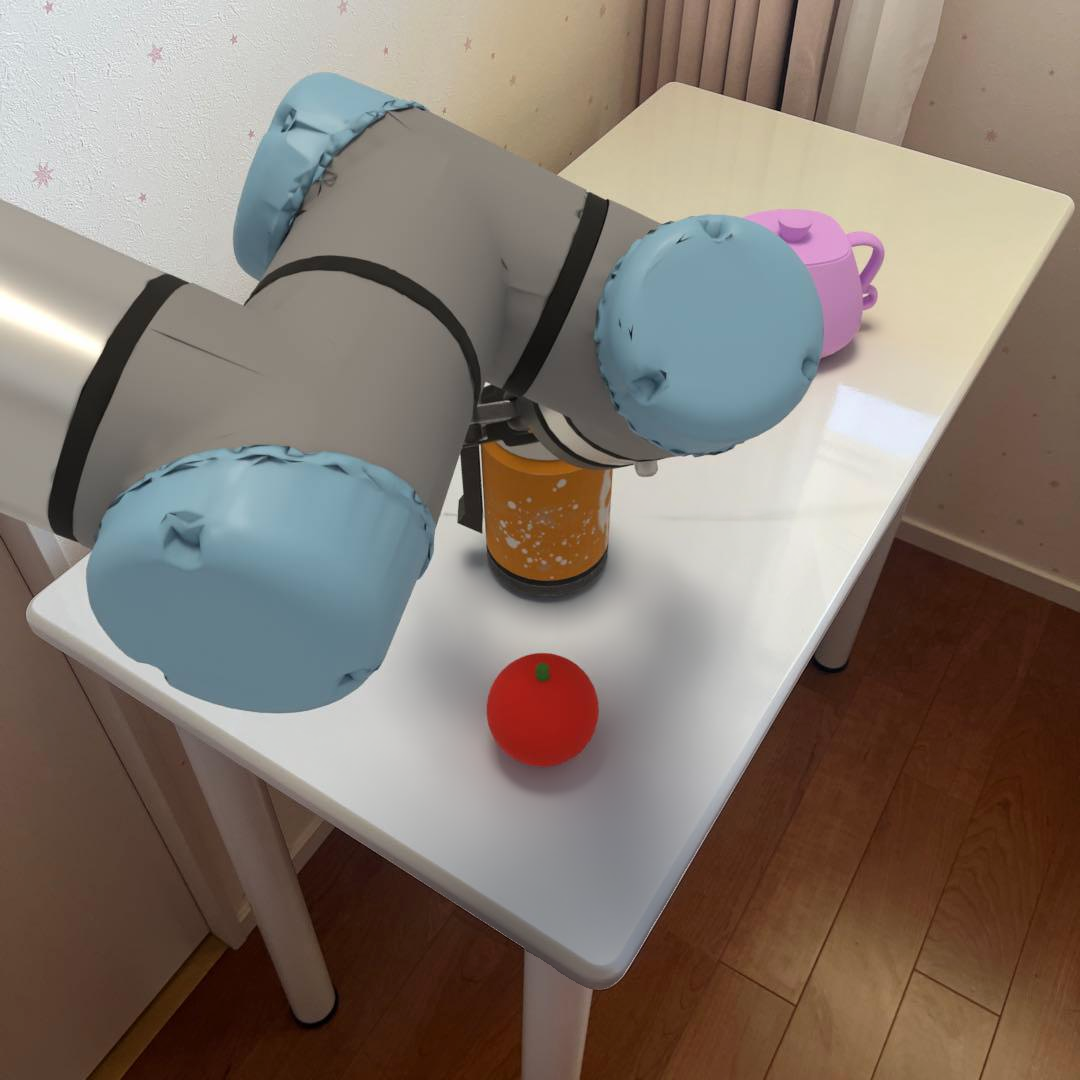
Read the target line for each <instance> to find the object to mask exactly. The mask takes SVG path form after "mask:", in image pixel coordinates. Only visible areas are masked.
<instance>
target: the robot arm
mask: <svg viewBox="0 0 1080 1080" xmlns="http://www.w3.org/2000/svg"><path fill="white" fill-rule="evenodd" d="M232 249H233V255H234V257H235V261H236V263H237V264H238V266H239V267H240V268H241V269H242V270H243V272H245V273H246V274H247V275H248V276H249V277H251V278H253V279H254V280H256V281H258V284H257V285H256V286H255V288H254V289H253V290H252V292H251V293H250V294H249V297H248V298H247V299H246V300H245V302H244V304H240V303H238V302H236V301H234V300H232V299H230V298H228V297H226V296H224V295H222V294H219V293H217V292H215V291H213V290H211V289H208V288H206V287H203V286H201V285H200V284H197V283H194V282H190V281H189V282H188V281H187V280H184V279H183V278H182V279H181V278H180V277H178V276H176V275H173V274H170V273H168V272H165V271H163V270H161V269H159V268H156V267H154V266H151V265H150V264H148V263H145V262H143V261H140V260H138V259H136V258H134V257H131V256H129V255H128V254H125V253H124V252H120V251H118V250H116V249H114V248H111V247H109V246H107V245H105V244H102V243H100V242H98V241H95V240H94V239H91V238H89V237H87V236H84V235H82V234H81V233H78V232H75V231H73V230H71V229H69V228H67V227H64V226H62V225H60V224H58V223H55V222H53V221H51V220H49V219H46V218H45V217H43V216H40V215H38V214H35V213H33V212H31V211H29V210H27V209H24V208H22V207H20V206H17V205H15V204H13V203H11V202H9V201H6V200H4V199H2V198H0V514H3V515H6V516H8V517H10V518H12V519H13V518H14V519H15V520H18V521H21V522H23V523H25V524H28V525H31V526H33V527H36V528H38V529H41V530H43V531H46V532H49V533H51V534H54V535H56V536H59V537H62V538H65V539H68V540H70V541H72V542H74V543H75V542H76V543H79V544H80V545H81V546H82V547H85V548H87V549H89V550H91V552H90V555H89V557H88V561H87V565H86V569H85V584H86V592H87V599H88V602H89V605H90V609H91V611H92V613H93V615H94V617H95V619H96V621H97V624H98V625H99V626H100V627H101V628H102V630H103V632H104V634H106V635H107V637H108V638H109V639H110V640H111V642H112V643H113V644H114V645H115V647H117V649H118V650H120V651H121V652H122V653H123V654H124V655H125V656H126V657H128V658H130V659H131V660H133V661H134V662H136V663H140V664H145V665H149V666H152V667H153V668H156V669H158V670H159V671H161V672H162V673H163V677H164V680H165V681H166V683H167V684H168V685H169V686H170V687H172V688H174V689H176V690H178V691H180V692H182V693H183V694H186V695H189V696H191V697H194V698H196V699H198V700H201V701H204V702H207V703H209V704H210V703H211V704H213V705H217V706H221V707H225V708H229V709H231V710H239V711H244V712H252V713H260V714H294V713H301V712H309V711H313V710H315V709H319V708H323V707H326V706H329V705H332V704H334V703H336V702H339V701H340V700H342V699H344V698H346V697H347V696H348V695H349V696H350V694H352V693H354V692H355V691H356V690H358V689H359V688H360V687H361V686H362V685H364V683H365V682H366V681H367V680H369V677H371V676H372V675H373V674H374V672H376V671H378V670H379V669H380V668H381V666H382V665H383V662H384V661H385V659H386V657H387V655H388V651H389V649H390V647H391V645H392V642H393V639H394V637H395V634H396V633H397V630H398V627H399V625H400V622H401V620H402V619H403V618H402V617H403V615H404V612H405V610H406V608H407V605H408V603H409V601H410V598H411V596H412V594H413V591H414V588H415V586H416V585H417V581H419V580H420V579H422V577H423V576H424V574H425V573H426V571H427V569H428V568H429V566H430V564H431V561H432V558H433V556H434V552H435V534H436V529H437V526H438V523H439V519H440V517H441V513H442V510H443V507H444V505H445V501H446V498H447V495H448V492H449V489H450V487H451V483H452V479H453V477H454V474H455V471H456V468H457V465H458V461H459V460H460V459H459V458H460V453H461V449H463V448H468V447H472V446H477V445H479V446H481V445H482V444H487V443H491V442H496V441H501V440H502V441H503V442H504V443H505V445H507V446H508V447H513V446H521V445H528V444H533V443H538V442H540V443H541V444H542V445H543V446H544V447H545V448H546V449H547V450H548V451H549V452H551V453H552V454H553V455H554V456H556V457H557V458H559V459H560V460H562V461H564V462H566V463H568V464H570V465H573V466H576V467H579V468H583V469H589V470H609V469H613V470H616V469H620V468H621V469H622V468H626V467H631V466H634V467H633V468H634V470H635V473H636V475H637V476H638V477H641V478H650V477H654V476H655V475H656V474H657V472H658V470H659V467H658V466H659V465H658V461H660V460H661V461H662V460H664V459H668V458H669V459H670V458H675V457H676V458H677V457H683V458H684V457H687V456H692V457H693V458H700V457H704V456H717V455H721V454H723V453H727V452H729V451H731V450H733V449H735V447H736V446H737V445H742V444H744V443H745V442H747V441H749V440H751V439H754V438H756V437H759V436H760V435H762V434H764V433H766V432H768V431H769V430H771V429H773V428H775V427H776V426H777V425H779V424H780V423H781V422H782V421H784V419H786V418H787V417H788V416H789V415H790V414H791V412H793V411H794V410H795V409H796V407H797V406H798V405H799V404H800V403H801V402H802V401H803V398H804V397H805V396H806V395H807V392H808V391H809V389H810V387H811V385H812V383H813V381H814V380H815V378H816V376H817V374H818V369H819V365H820V362H821V359H822V358H821V355H822V349H823V341H824V322H823V311H822V306H821V301H820V298H819V295H818V292H817V289H816V286H815V284H814V281H813V279H812V276H811V274H810V272H809V271H808V269H807V267H806V266H805V264H804V263H803V262H802V260H801V259H800V257H799V256H798V255H797V253H796V252H795V251H794V250H793V249H792V248H791V247H790V246H789V245H788V244H787V243H786V242H785V241H784V240H783V239H781V238H780V237H779V236H778V235H776V234H775V233H774V232H772V231H771V230H769V229H767V228H766V227H764V226H762V225H760V224H758V223H755V222H753V221H750V220H747V219H744V218H743V217H739V216H736V215H729V214H711V213H710V214H702V215H701V214H700V215H694V216H688V217H685V218H682V219H679V220H676V221H673V220H670V221H667V222H664V223H660V222H659V221H656V220H654V219H653V218H650V217H648V216H646V215H644V214H642V213H640V212H638V211H636V210H634V209H632V208H630V207H627V206H625V205H623V204H621V203H618V202H616V201H614V200H612V199H609V198H603V197H601V196H599V195H597V194H595V193H593V192H591V191H587V189H586V188H584V187H582V186H580V185H578V184H576V183H574V182H571V181H570V180H568V179H566V178H564V177H562V176H560V175H558V174H556V173H554V172H552V171H550V170H547V168H544V167H543V166H540V165H538V164H536V163H534V162H532V161H529V160H527V159H526V158H523V157H522V156H520V155H518V154H516V153H514V152H512V151H510V150H508V149H506V148H504V147H501V146H500V145H497V144H496V143H494V142H492V141H490V140H487V139H486V138H484V137H482V136H480V135H477V134H475V133H474V132H472V131H469V130H468V129H466V128H464V127H462V126H459V124H458V125H457V124H455V123H453V122H452V121H449V120H447V119H446V118H444V117H441V116H439V115H437V114H435V113H433V112H432V111H430V110H429V108H428V107H427V106H425V105H423V104H421V103H419V102H418V101H416V100H407V99H404V98H403V99H400V98H398V97H395V96H392V95H390V94H387V93H385V92H383V91H380V90H379V89H376V88H373V87H370V86H368V85H366V84H363V83H361V82H358V81H355V80H353V79H351V78H348V77H345V76H343V75H341V74H338V73H336V72H335V73H334V72H328V71H326V72H325V71H324V72H322V71H321V72H320V71H319V72H314V73H312V74H308V75H306V76H305V77H303V78H301V79H299V80H297V82H296V83H295V84H294V85H292V87H290V89H289V90H288V91H287V93H286V94H285V95H284V97H283V98H282V100H281V101H280V103H279V104H278V106H277V107H276V110H275V112H274V115H273V117H272V120H271V122H270V125H269V127H268V129H267V132H265V133H264V134H263V135H262V138H261V140H260V142H259V144H258V146H257V148H256V150H255V154H254V156H253V159H252V162H251V164H250V166H249V168H248V172H247V175H246V178H245V181H244V184H243V187H242V190H241V194H240V198H239V201H238V205H237V210H236V214H235V219H234V224H233V232H232ZM486 383H487V384H488V385H490V384H492V385H494V386H496V387H495V390H494V392H493V393H492V394H490V395H486V396H482V397H481V394H482V391H483V388H484V387H485V385H486ZM528 430H531V431H532V433H529V432H528Z"/></svg>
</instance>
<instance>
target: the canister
mask: <svg viewBox="0 0 1080 1080" xmlns="http://www.w3.org/2000/svg"><path fill="white" fill-rule="evenodd" d="M495 387H496V386H494V385H492V384H487V385H486V386H485V385H484V388H483V391H482V394H481V397H482V396H486V395H490V394H492V393H493V392H494V390H495ZM528 432H529V433H532V431H531V430H528ZM459 458H460V469H461V482H462V495H461V496H460V498H459V499H458V501H457V502H458V503H457V505H458V506H457V518H456V521H457V522H456V523H457V524H458V525H460V526H463V527H465V528H467V529H470V530H472V531H475V532H477V533H479V534H483V525H484V527H485V543H486V544H485V545H486V546H485V547H486V558H487V559H486V560H487V561H488V566H489V567H490V569H491V571H492V572H493V574H494V575H495V576H496V577H497V579H499V581H501V582H502V583H503V584H505V585H506V586H508V587H510V588H511V589H513V590H515V591H518V592H520V593H523V594H526V595H532V596H537V597H558V596H559V597H560V596H565V595H569V594H571V593H574V592H578V591H579V590H581V589H584V588H585V587H587V586H588V585H590V584H591V583H593V581H595V580H596V579H597V578H598V577H599V576H600V575H601V573H602V572H603V570H604V568H605V566H606V564H607V561H608V556H609V541H610V540H609V539H610V523H611V507H612V491H613V490H612V489H613V488H612V487H613V475H614V473H613V471H614V469H609V470H589V469H583V468H579V467H576V466H573V465H570V464H568V463H566V462H564V461H562V460H560V459H559V458H557V457H556V456H554V455H553V454H552V453H551V452H549V451H548V450H547V449H546V448H545V447H544V446H543V445H542V444H541V443H540V442H538V443H533V444H528V445H521V446H513V447H508V446H507V445H505V443H504V442H503V441H502V440H501V441H496V442H491V443H487V444H482V445H477V446H472V447H468V448H463V449H461V453H460V456H459ZM483 523H484V524H483Z"/></svg>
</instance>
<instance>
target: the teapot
mask: <svg viewBox="0 0 1080 1080" xmlns="http://www.w3.org/2000/svg"><path fill="white" fill-rule="evenodd" d="M742 218H744V219H747V220H750V221H753V222H755V223H758V224H760V225H762V226H764V227H766V228H767V229H769V230H771V231H772V232H774V233H775V234H776V235H778V236H779V237H780V238H781V239H783V240H784V241H785V242H786V243H787V244H788V245H789V246H790V247H791V248H792V249H793V250H794V251H795V252H796V253H797V255H798V256H799V257H800V259H801V260H802V262H803V263H804V264H805V266H806V267H807V269H808V271H809V272H810V274H811V276H812V279H813V281H814V284H815V286H816V289H817V292H818V295H819V298H820V301H821V306H822V311H823V322H824V341H823V349H822V355H821V358H820V359H823V358H827V357H829V356H831V355H833V354H835V353H837V352H839V351H840V350H842V349H843V348H844V347H846V346H847V345H848V344H850V342H851V341H852V340H853V339H854V338H855V337H856V336H857V334H858V332H859V330H860V328H861V322H862V318H863V311H867V310H869V309H872V307H874V306H875V305H876V303H877V301H878V297H879V293H878V290H877V288H876V287H875V286H874V285H872V282H873V280H874V279H875V277H876V276H877V274H878V273H879V271H880V269H881V267H882V266H883V263H884V260H885V255H886V253H885V247H884V244H883V242H882V241H881V240H880V238H879V237H877V236H876V234H873V233H870V232H868V231H864V230H856V231H851V232H848V233H845V231H844V229H843V227H842V226H841V225H840V224H839V222H838V221H837V220H836V219H835V218H834V217H832V216H831V215H829V214H827V213H824V212H821V211H816V210H811V209H795V208H783V209H771V210H764V211H758V212H754V213H751V214H748V215H745V216H743V217H742ZM861 246H864V247H865V246H866V247H870V248H872V253H871V254H870V257H869V260H868V262H866V265H865V266H864V268H863V269H862V271H861V272H860V271H859V268H858V265H857V261H856V258H855V254H854V250H853V248H855V247H861ZM864 295H865V296H864Z"/></svg>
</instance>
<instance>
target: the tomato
mask: <svg viewBox="0 0 1080 1080" xmlns="http://www.w3.org/2000/svg"><path fill="white" fill-rule="evenodd" d="M599 705H600V704H599V698H598V693H597V690H596V688H595V685H594V683H593V682H592V681H591V678H590V677H589V676H588V674H587V673H586V672H585V671H584V670H583V669H582V668H581V667H580V666H579V665H578V664H576V663H575V662H574V661H572V660H570V658H569V659H568V658H566V657H565V656H561V655H559V654H555V653H550V652H537V653H530V654H527V655H523V656H520V657H519V658H517V659H515V660H513V661H512V662H510V663H508V664H507V665H506V666H505V667H504V668H503V669H502V670H501V671H500V672H499V673H498V675H497V676H496V677H495V679H494V681H493V683H492V685H491V686H490V689H489V692H488V696H487V701H486V719H487V725H488V729H489V731H490V733H491V735H492V738H493V739H494V741H495V742H496V744H497V745H498V746H499V747H500V749H501V750H502V751H503V752H504V753H505V754H507V755H508V756H509V757H510V758H512V759H514V760H516V762H520V763H521V764H525V765H527V766H532V767H539V768H543V767H544V768H546V767H547V768H548V767H553V766H558V765H561V764H563V763H566V762H568V761H570V760H572V759H573V758H575V757H576V756H578V755H579V754H580V753H581V752H583V750H584V749H585V748H586V747H587V745H588V744H589V743H590V742H591V739H593V736H594V734H595V731H596V729H597V726H598V721H599V717H600V716H599V714H600V707H599Z"/></svg>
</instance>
